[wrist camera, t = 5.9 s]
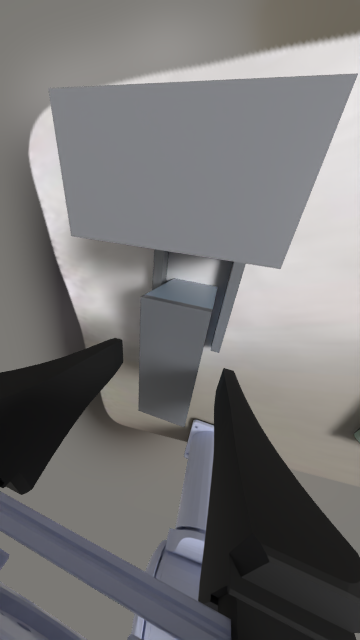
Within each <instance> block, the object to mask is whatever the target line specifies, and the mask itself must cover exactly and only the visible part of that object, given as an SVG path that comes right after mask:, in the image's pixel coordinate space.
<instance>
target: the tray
mask: <svg viewBox="0 0 360 640" xmlns="http://www.w3.org/2000/svg"><path fill="white" fill-rule="evenodd" d="M354 436H355V437H356V439H357V440H358V442H359V443H360V429H359V430H358V431H357V432H356V433H355V434H354Z"/></svg>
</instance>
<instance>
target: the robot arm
mask: <svg viewBox="0 0 360 640" xmlns="http://www.w3.org/2000/svg"><path fill="white" fill-rule="evenodd" d="M122 363H123V347H122V340H121V339H117V338H113V339H110V340H107V341H105V342H102V343H100V344H97V345H95V346H92V347H89V348H87V349H84V350H82V351H79V352H76V353H73V354H71V355H68V356H65V357H62V358H59V359H56V360H52V361H49V362H45V363H42V364H38V365H34V366H29V367H25V368H21V369H17V370H12V371H7V372H1V373H0V487H2V488H4V487H8V488H10V489H11V490H14V491H15V492H17V493H19V494H21V495H22V494H25V493H27V492H29V491H30V490H32V489H33V487H34V485H35V483H36V482H37V480H38V479H39V477H40V475H41V474H42V472H43V471H44V469H45V467H46V466H47V464H48V462H49V461H50V459H51V458H52V456H53V455H54V453H55V452H56V450H57V448H58V447H59V446H60V444H61V442H62V441H63V439H64V438H65V436H66V435H67V434H68V432H69V430H70V429H71V428H72V426H73V425H74V423H75V422H76V421H77V419H78V418H79V416H80V415H81V414H82V412H83V411H84V410H85V408H86V407H87V406H88V405H89V403H90V402H91V401H92V400H93V399H94V398H95V397H96V395H97V394H98V393H99V392H100V391H101V390H102V389H103V387H104V386H105V385H106V384H107V383H108V382H109V381H110V379H111V378H112V377H113V376H114V375H115V373H116V372H117V371H118V369H119V368H120V366H121V365H122ZM184 457H185V458H187V459H188V462H187V467H186V473H185V478H184V484H183V489H182V495H181V501H180V506H179V512H178V518H177V523H176V528H175V529H172V528H170V529H169V532H168V538H167V540H163V541H162V542H161V543H160V544H159V546H158V547H157V549H156V550H155V551H154V553H153V555H152V557H151V559H150V561H149V563H148V566H147V568H146V571H143V570H141V569H139V568H137V567H136V566H134V565H132V564H130V563H128V562H127V561H125V560H123V559H121V558H119V557H118V556H116V555H114V554H112V553H110V552H109V551H107V550H105V549H103V548H101V547H100V546H98V545H96V544H94V543H92V542H90V541H89V540H87V539H85V538H83V537H82V536H80V535H78V534H76V533H74V532H73V531H71V530H69V529H67V528H65V527H64V526H62V525H60V524H58V523H56V522H55V521H53V520H51V519H49V518H47V517H46V516H44V515H42V514H40V513H38V512H37V511H35V510H33V509H31V508H30V507H28V506H26V505H24V504H22V503H20V502H19V501H17V500H15V499H13V498H12V497H10V496H8V495H6V494H4V493H2V492H1V491H0V531H1V532H3V533H5V534H6V535H8V536H9V537H11V538H13V539H14V540H16V541H17V542H19V543H21V544H22V545H24V546H26V547H27V548H29V549H31V550H32V551H34V552H35V553H37V554H39V555H40V556H42V557H43V558H45V559H47V560H48V561H50V562H52V563H53V564H55V565H56V566H58V567H60V568H61V569H63V570H65V571H66V572H68V573H69V574H71V575H73V576H74V577H76V578H78V579H79V580H81V581H83V582H84V583H86V584H87V585H89V586H91V587H92V588H94V589H95V590H97V591H99V592H100V593H102V594H104V595H105V596H107V597H108V598H110V599H112V600H113V601H115V602H117V603H118V604H120V605H122V606H123V607H125V608H126V609H128V610H130V611H131V612H133V613H134V620H133V627H132V633H131V634H130V636H129V637H128V639H127V640H356V637H355V634H354V633H360V557H359V555H358V553H357V552H356V551H355V550H354V549H353V547H352V546H351V545H350V544H349V543H348V542H347V540H346V539H345V538H344V537H343V536H342V534H341V533H340V532H339V531H338V530H337V529H336V527H335V526H334V525H333V524H332V523H331V521H330V520H329V519H328V518H327V517H326V515H325V514H324V513H323V512H322V511H321V510H320V508H319V507H318V506H317V505H316V503H315V502H314V501H313V500H312V498H311V497H310V496H309V495H308V493H307V492H306V491H305V489H304V488H303V487H302V486H301V484H300V483H299V482H298V480H297V479H296V478H295V476H294V475H293V473H292V472H291V471H290V469H289V468H288V467H287V465H286V464H285V462H284V461H283V460H282V458H281V457H280V456H279V454H278V453H277V451H276V450H275V448H274V447H273V445H272V444H271V442H270V441H269V439H268V437H267V436H266V434H265V433H264V431H263V429H262V428H261V426H260V424H259V423H258V421H257V419H256V417H255V415H254V414H253V412H252V410H251V408H250V406H249V404H248V402H247V400H246V398H245V396H244V394H243V392H242V389H241V387H240V385H239V383H238V380H237V378H236V375H235V373H234V371H232V370H228V369H225V368H223V371H222V374H221V377H220V380H219V383H218V386H217V389H216V396H215V404H214V425H211V424H208V423H205V422H202V421H199V420H194V421H193V424H192V428H191V431H190V435H189V439H188V442H187V446H186V450H185V453H184ZM8 558H9V554H8V553H6V552H4V551H3V550H2V549H0V570H1V569H2V567H3V566H4V564H5V563H6V561H7V560H8ZM0 640H87V639H86V638H85V637H83V636H81V635H80V634H79V633H77V632H76V631H75V630H73V629H72V628H70V627H69V626H67V625H66V624H65V623H63V622H62V621H60V620H58V619H57V618H56V617H54V616H53V615H51V614H50V613H48V612H47V611H45V610H43V609H42V608H40V607H39V606H37V605H36V604H34V603H33V602H31V601H30V600H28V599H26V598H25V597H23V596H22V595H20V594H19V593H17V592H16V591H14V590H12V589H11V588H9V587H8V586H6V585H5V584H3V583H2V582H0Z"/></svg>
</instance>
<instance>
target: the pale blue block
mask: <svg viewBox="0 0 360 640" xmlns="http://www.w3.org/2000/svg"><path fill="white" fill-rule="evenodd" d="M217 288H218V287H217V286H212V285H207V284H201V283H196V282H191V281H185V280H180V279H175V278H174V279H172V280H170V281H169V282H167V283H165V284H163V285H161V286H160V287H158V288H156V289H154V290H152V291H150V292H149V293H147V294H145V295H143V296H141V309H140V360H139V411H141V412H144V413H147V414H149V415H152V416H155V417H158V418H160V419H163V420H166V421H168V422H171V423H174V424H177V425H179V426H182V427H185V422H186V418H187V414H188V410H189V406H190V402H191V397H192V393H193V389H194V385H195V381H196V376H197V372H198V368H199V364H200V360H201V355H202V351H203V347H204V343H205V339H206V335H207V330H208V326H209V322H210V318H211V314H212V309H213V305H214V301H215V296H216V292H217Z"/></svg>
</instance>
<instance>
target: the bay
mask: <svg viewBox="0 0 360 640" xmlns="http://www.w3.org/2000/svg"><path fill="white" fill-rule="evenodd" d="M357 75H358V74H338V75H317V76H296V77H275V78H254V79H232V80H211V81H190V82H169V83H148V84H127V85H106V86H84V87H65V88H64V87H63V88H49V96H50V102H51V109H52V115H53V121H54V128H55V134H56V141H57V147H58V154H59V160H60V166H61V173H62V179H63V186H64V192H65V199H66V205H67V211H68V218H69V224H70V231H71V236H74V237H80V238H86V239H93V240H99V241H106V242H112V243H118V244H125V245H131V246H137V247H144V248H150V249H155V250H154V269H153V288H152V290H154V289H156V288H158V287H160V286H161V285H163V284H165V283H166V275H167V264H168V253H169V252H176V253H182V254H188V255H195V256H201V257H207V258H214V259H220V260H227V261H233V265H232V269H231V273H230V277H229V280H228V284H227V288H226V292H225V295H224V299H223V303H222V307H221V311H220V314H219V318H218V322H217V326H216V329H215V333H214V337H213V341H212V345H211V351H214V352H218V353H219V351H220V348H221V345H222V341H223V338H224V334H225V331H226V328H227V324H228V321H229V318H230V314H231V311H232V308H233V304H234V301H235V298H236V294H237V291H238V288H239V284H240V281H241V278H242V274H243V271H244V268H245V264H252V265H258V266H265V267H271V268H277V269H281V266H282V264H283V261H284V259H285V256H286V254H287V251H288V249H289V246H290V244H291V241H292V239H293V236H294V234H295V231H296V229H297V226H298V224H299V221H300V218H301V216H302V213H303V211H304V208H305V206H306V203H307V201H308V198H309V196H310V193H311V191H312V188H313V186H314V183H315V181H316V178H317V176H318V173H319V171H320V168H321V166H322V163H323V161H324V158H325V156H326V153H327V151H328V148H329V145H330V143H331V140H332V138H333V135H334V133H335V130H336V128H337V125H338V123H339V120H340V118H341V115H342V113H343V110H344V108H345V105H346V103H347V100H348V98H349V95H350V93H351V90H352V88H353V85H354V83H355V80H356V78H357Z"/></svg>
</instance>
